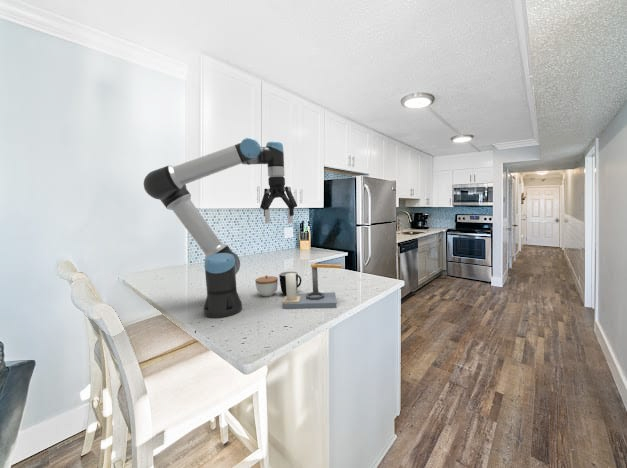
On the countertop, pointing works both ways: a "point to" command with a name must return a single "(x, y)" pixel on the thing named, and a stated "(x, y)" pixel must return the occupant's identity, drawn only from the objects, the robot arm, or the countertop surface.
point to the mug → (283, 281)
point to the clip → (325, 266)
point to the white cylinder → (291, 286)
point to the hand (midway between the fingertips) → (278, 223)
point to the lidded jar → (266, 285)
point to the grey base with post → (312, 297)
